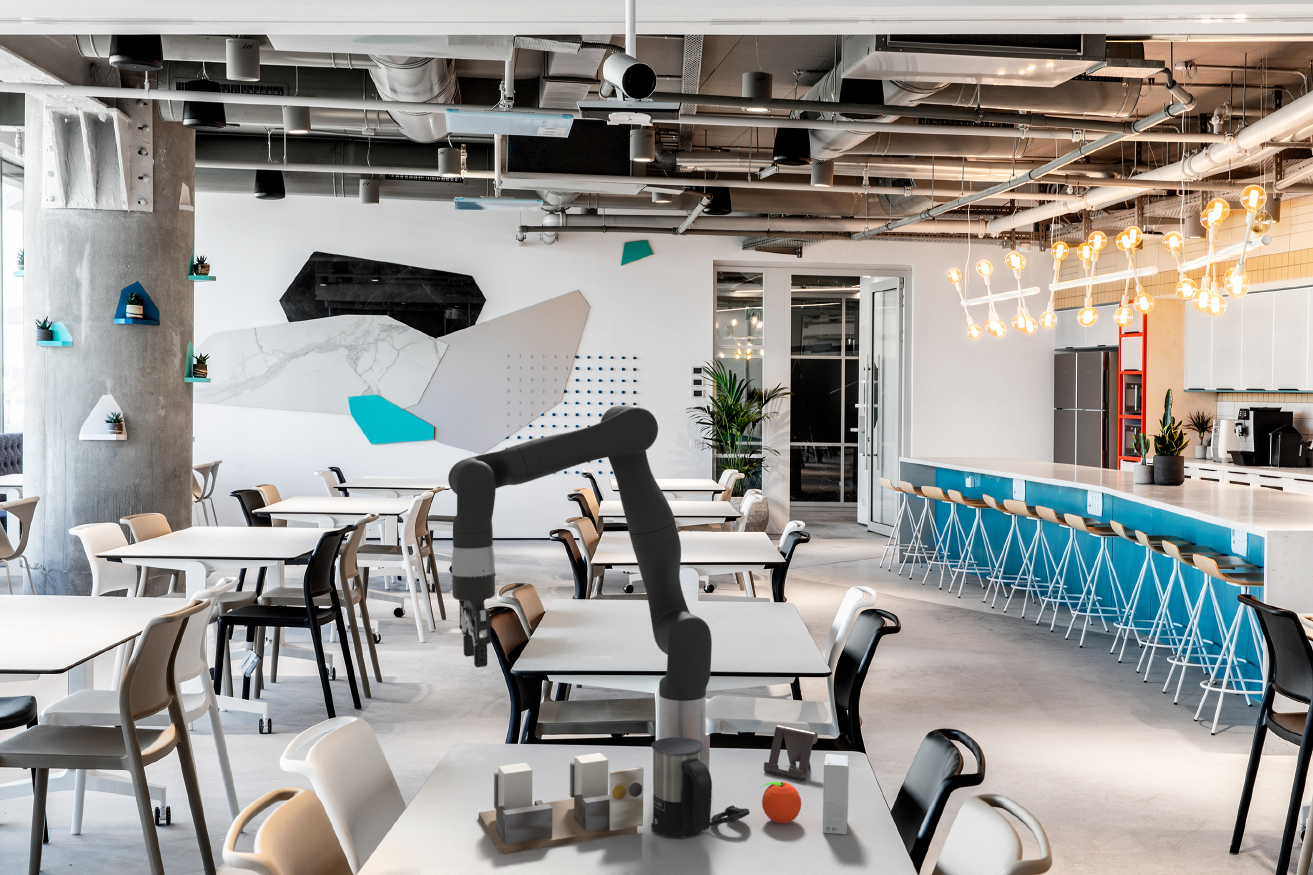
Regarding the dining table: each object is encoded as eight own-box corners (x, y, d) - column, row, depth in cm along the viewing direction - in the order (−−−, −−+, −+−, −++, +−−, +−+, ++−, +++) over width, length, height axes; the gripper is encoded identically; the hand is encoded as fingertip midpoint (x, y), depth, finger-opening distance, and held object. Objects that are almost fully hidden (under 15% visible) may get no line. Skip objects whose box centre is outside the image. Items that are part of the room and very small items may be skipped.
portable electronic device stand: (762, 772, 207) (763, 731, 207) (781, 761, 213) (781, 722, 213) (802, 782, 202) (802, 740, 201) (819, 770, 208) (820, 729, 208)
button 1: (526, 810, 183) (527, 760, 183) (534, 820, 178) (535, 769, 178) (493, 815, 180) (494, 764, 180) (501, 825, 176) (501, 773, 176)
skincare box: (847, 835, 176) (848, 766, 176) (822, 833, 177) (823, 764, 177) (848, 821, 182) (849, 754, 182) (823, 819, 183) (824, 752, 183)
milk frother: (639, 828, 179) (640, 744, 178) (698, 803, 190) (699, 724, 190) (701, 853, 169) (702, 764, 169) (760, 825, 181) (760, 741, 180)
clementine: (751, 824, 181) (751, 785, 180) (761, 810, 187) (762, 772, 187) (795, 832, 178) (796, 791, 177) (805, 817, 184) (805, 778, 184)
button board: (610, 798, 192) (610, 740, 192) (643, 831, 177) (643, 768, 177) (478, 817, 182) (478, 756, 182) (501, 854, 167) (502, 788, 167)
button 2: (600, 799, 188) (601, 750, 188) (610, 809, 184) (610, 759, 183) (569, 803, 186) (570, 754, 186) (578, 813, 181) (578, 763, 181)
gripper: (504, 575, 178) (505, 667, 179) (484, 563, 191) (486, 649, 192) (461, 579, 175) (463, 672, 176) (444, 566, 188) (446, 654, 189)
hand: (475, 660), depth 184 cm, fingers open, 8 cm apart
